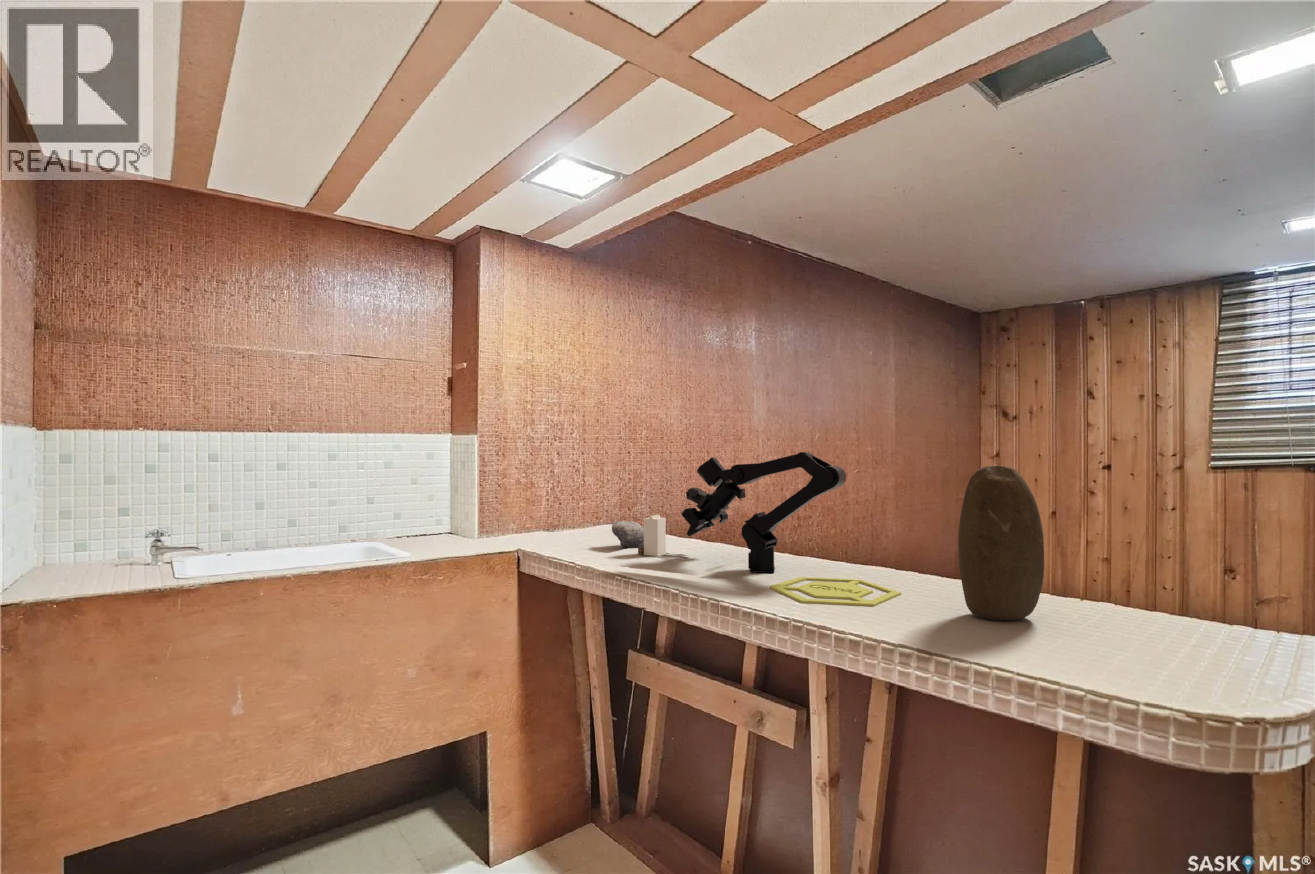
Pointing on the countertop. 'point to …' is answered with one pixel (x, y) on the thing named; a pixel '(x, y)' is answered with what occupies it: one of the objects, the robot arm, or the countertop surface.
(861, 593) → the logo
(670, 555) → the switch board
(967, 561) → the stone
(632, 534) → the rock
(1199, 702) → the countertop surface
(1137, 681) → the countertop surface
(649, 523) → the white rectangular block
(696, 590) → the countertop surface
